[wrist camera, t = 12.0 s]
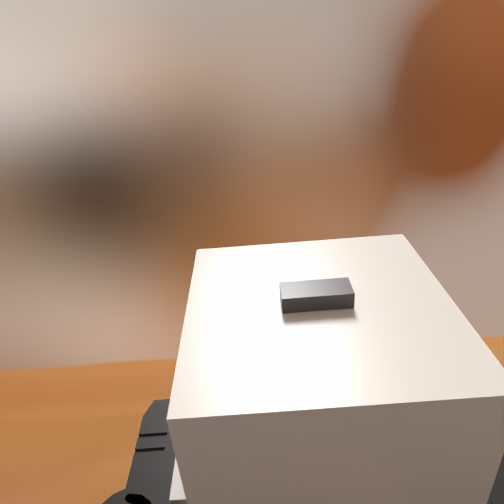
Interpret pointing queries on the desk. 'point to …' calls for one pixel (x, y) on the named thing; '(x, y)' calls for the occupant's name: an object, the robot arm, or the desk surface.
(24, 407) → the desk surface
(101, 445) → the desk surface
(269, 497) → the block
